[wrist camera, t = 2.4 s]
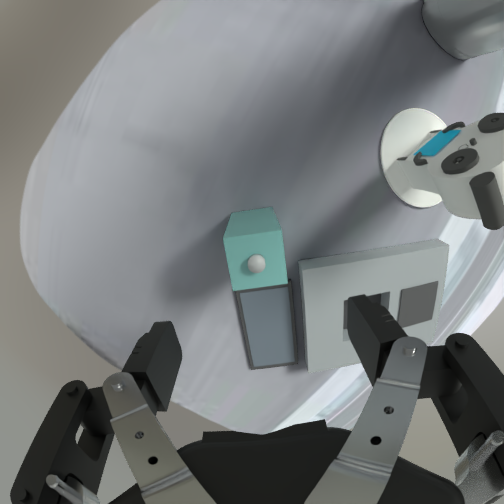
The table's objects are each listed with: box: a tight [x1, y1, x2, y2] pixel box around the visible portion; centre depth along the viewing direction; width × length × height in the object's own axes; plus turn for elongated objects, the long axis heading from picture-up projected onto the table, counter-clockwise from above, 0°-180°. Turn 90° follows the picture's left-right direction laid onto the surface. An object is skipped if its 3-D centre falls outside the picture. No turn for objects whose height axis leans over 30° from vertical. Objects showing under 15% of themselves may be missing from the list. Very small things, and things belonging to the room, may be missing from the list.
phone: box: [236, 279, 298, 370], centre depth 32 cm, size 6×12×1 cm, turn 8°
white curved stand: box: [380, 108, 504, 230], centre depth 18 cm, size 12×11×15 cm
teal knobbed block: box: [223, 207, 288, 291], centre depth 23 cm, size 4×4×10 cm
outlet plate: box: [298, 239, 449, 373], centre depth 30 cm, size 14×18×3 cm
